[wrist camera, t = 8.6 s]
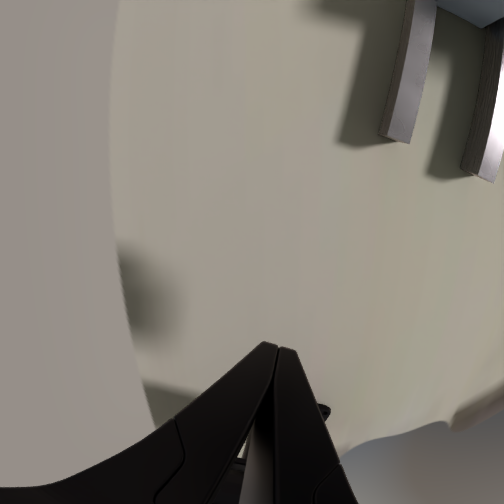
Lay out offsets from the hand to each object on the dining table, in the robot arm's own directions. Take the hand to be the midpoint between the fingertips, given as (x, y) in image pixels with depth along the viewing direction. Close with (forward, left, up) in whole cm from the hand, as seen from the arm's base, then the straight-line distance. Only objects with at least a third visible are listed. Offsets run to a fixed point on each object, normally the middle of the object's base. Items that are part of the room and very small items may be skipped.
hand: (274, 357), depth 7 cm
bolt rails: (+12, -6, -12) cm, 18 cm away
